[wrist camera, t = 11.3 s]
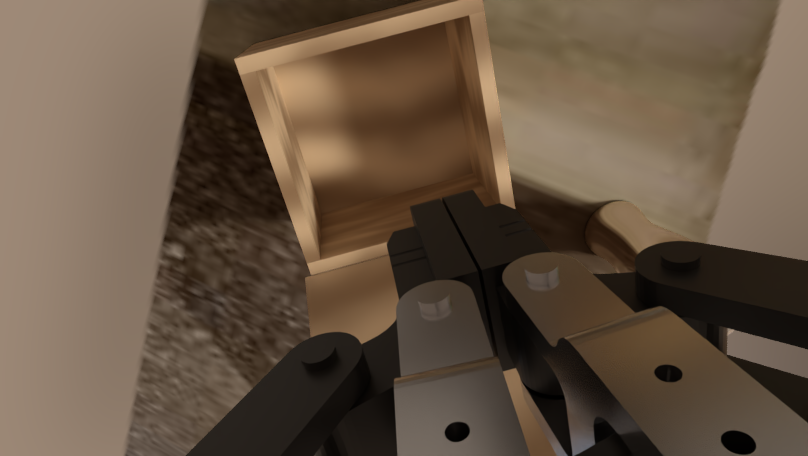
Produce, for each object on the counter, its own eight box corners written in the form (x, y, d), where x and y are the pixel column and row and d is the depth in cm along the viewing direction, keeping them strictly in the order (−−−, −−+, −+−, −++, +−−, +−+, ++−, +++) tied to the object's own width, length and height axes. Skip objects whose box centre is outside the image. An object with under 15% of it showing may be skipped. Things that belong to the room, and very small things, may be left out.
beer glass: (568, 250, 54) (648, 339, 41) (599, 187, 52) (696, 259, 38) (626, 266, 56) (722, 356, 42) (659, 206, 53) (772, 281, 40)
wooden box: (251, 44, 43) (230, 59, 34) (449, -8, 43) (481, -6, 34) (312, 222, 49) (308, 275, 40) (482, 177, 50) (516, 219, 41)
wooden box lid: (328, 519, 29) (331, 522, 29) (635, 433, 29) (633, 438, 29) (305, 277, 40) (307, 282, 41) (523, 218, 41) (523, 224, 41)
